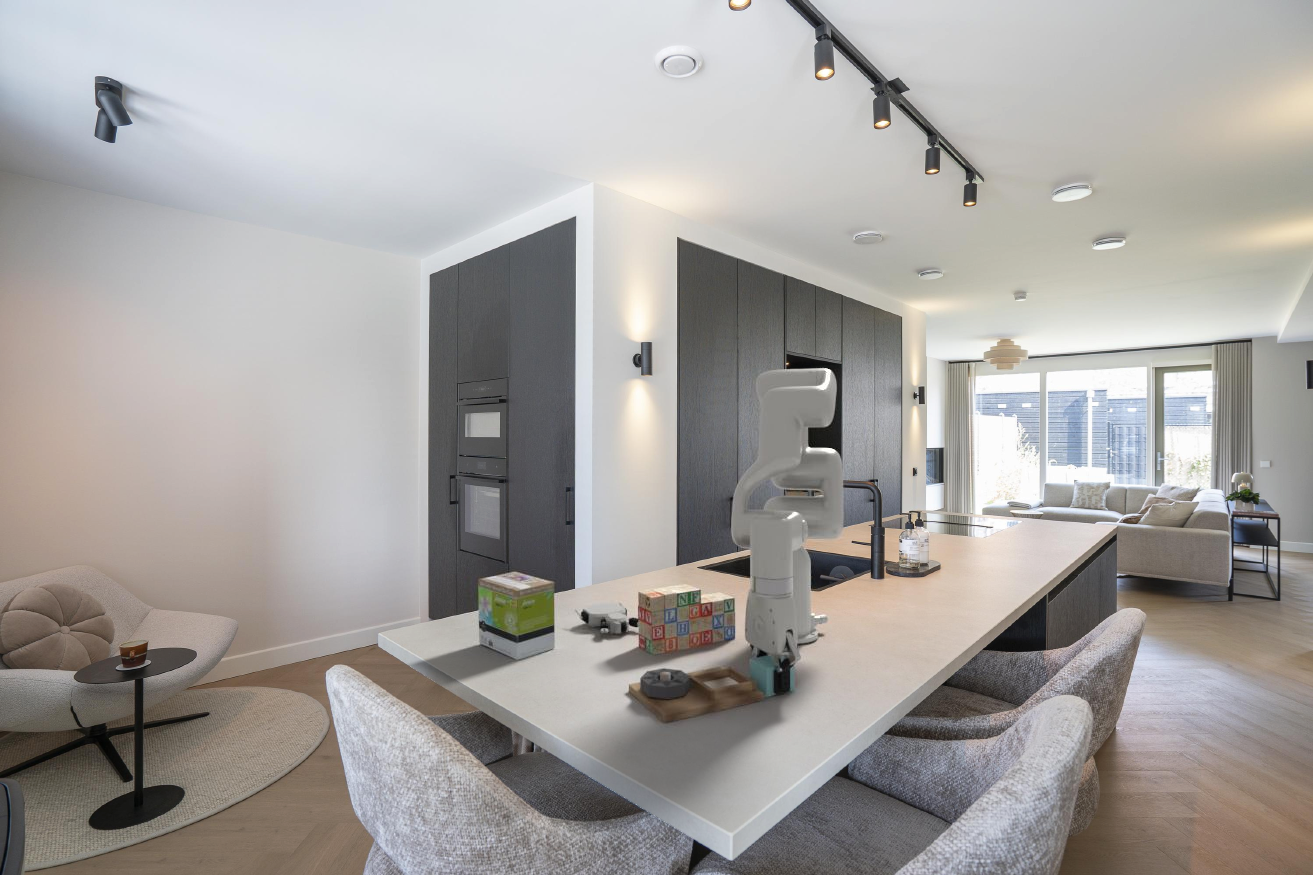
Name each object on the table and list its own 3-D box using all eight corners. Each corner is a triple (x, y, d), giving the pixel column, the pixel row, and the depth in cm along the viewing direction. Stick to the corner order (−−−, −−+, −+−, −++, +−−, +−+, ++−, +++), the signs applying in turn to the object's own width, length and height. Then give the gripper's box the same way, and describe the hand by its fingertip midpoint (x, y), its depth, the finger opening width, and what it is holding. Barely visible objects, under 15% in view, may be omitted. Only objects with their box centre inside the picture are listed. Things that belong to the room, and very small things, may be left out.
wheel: (674, 676, 115) (674, 665, 115) (697, 692, 108) (696, 681, 108) (634, 684, 112) (634, 673, 112) (654, 701, 104) (654, 689, 104)
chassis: (719, 672, 121) (719, 650, 121) (763, 699, 109) (763, 675, 109) (628, 691, 113) (628, 667, 113) (664, 722, 100) (664, 696, 100)
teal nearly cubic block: (777, 680, 117) (776, 653, 117) (794, 690, 113) (794, 662, 113) (750, 686, 115) (750, 658, 115) (766, 696, 110) (766, 667, 110)
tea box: (476, 645, 138) (476, 577, 138) (515, 634, 146) (515, 570, 146) (517, 661, 128) (516, 588, 128) (556, 649, 136) (556, 580, 136)
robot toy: (648, 636, 147) (618, 615, 160) (648, 617, 147) (618, 598, 159) (600, 645, 141) (573, 623, 153) (600, 625, 140) (573, 605, 153)
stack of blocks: (719, 631, 147) (719, 578, 147) (735, 639, 142) (735, 584, 142) (637, 647, 137) (637, 590, 137) (651, 655, 131) (651, 596, 131)
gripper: (727, 577, 120) (728, 674, 120) (784, 598, 104) (784, 708, 104) (760, 573, 123) (761, 667, 123) (819, 593, 108) (820, 700, 108)
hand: (772, 685), depth 114 cm, fingers closed on teal nearly cubic block, 5 cm apart
